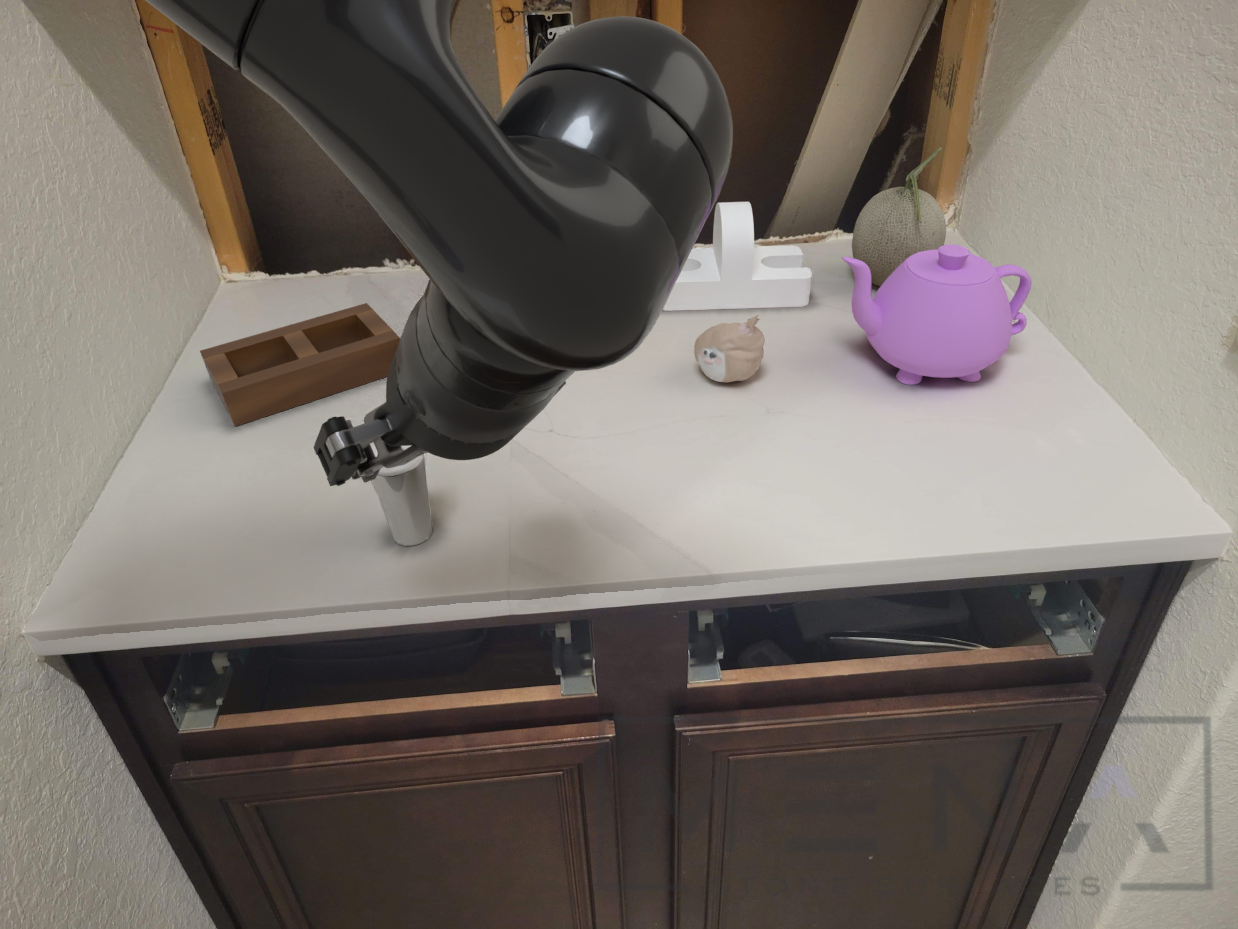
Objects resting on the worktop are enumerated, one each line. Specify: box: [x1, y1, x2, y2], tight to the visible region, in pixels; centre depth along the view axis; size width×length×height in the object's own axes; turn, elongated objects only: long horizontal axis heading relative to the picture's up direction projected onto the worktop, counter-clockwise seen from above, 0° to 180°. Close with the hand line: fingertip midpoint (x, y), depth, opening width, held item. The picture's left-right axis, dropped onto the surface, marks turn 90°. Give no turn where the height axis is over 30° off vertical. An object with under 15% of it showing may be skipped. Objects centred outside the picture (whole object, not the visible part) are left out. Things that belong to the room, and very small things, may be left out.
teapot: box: [841, 244, 1032, 386], centre depth 83 cm, size 20×14×12 cm
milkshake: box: [370, 442, 434, 547], centre depth 65 cm, size 4×5×10 cm
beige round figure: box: [693, 314, 766, 384], centre depth 83 cm, size 7×6×8 cm
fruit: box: [851, 146, 947, 287], centre depth 97 cm, size 10×12×15 cm
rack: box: [199, 302, 401, 427], centre depth 87 cm, size 10×18×4 cm, turn 124°
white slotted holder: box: [662, 201, 813, 312], centre depth 98 cm, size 10×18×11 cm, turn 90°
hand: (424, 443), depth 55 cm, fingers open, 8 cm apart
